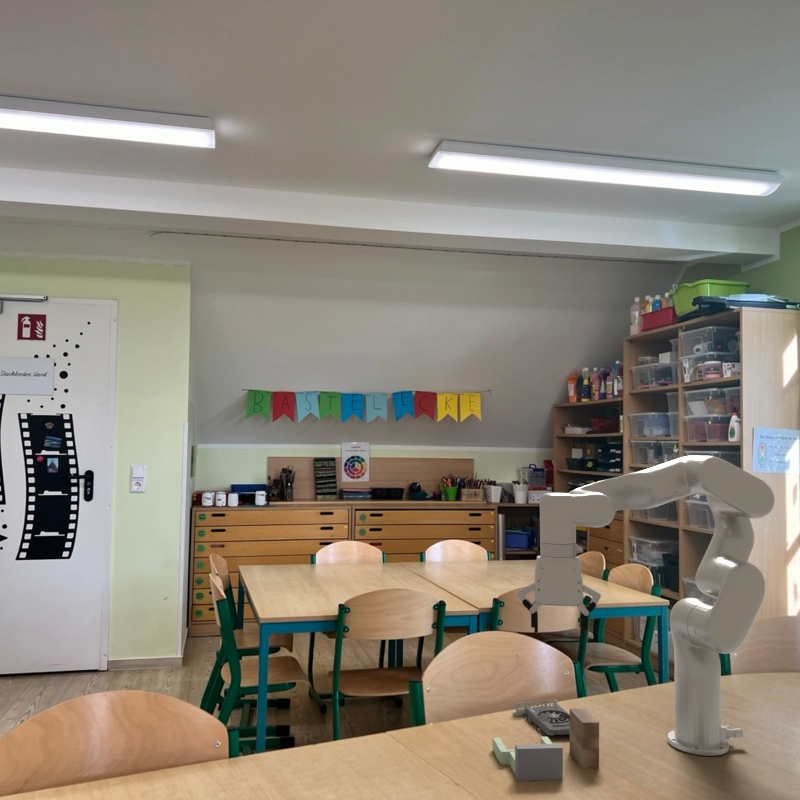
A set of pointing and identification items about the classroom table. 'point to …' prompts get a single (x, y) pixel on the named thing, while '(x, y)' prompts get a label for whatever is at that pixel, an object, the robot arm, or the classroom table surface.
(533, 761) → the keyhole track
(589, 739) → the brown wooden block
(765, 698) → the classroom table surface
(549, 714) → the graphics card
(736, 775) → the classroom table surface
